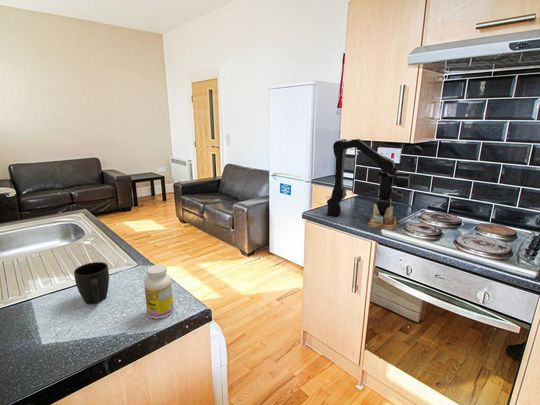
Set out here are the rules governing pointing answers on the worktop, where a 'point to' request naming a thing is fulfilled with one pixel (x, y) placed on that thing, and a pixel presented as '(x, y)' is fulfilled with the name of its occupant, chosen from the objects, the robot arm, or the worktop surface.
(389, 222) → the small walnut offcut
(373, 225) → the rack
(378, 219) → the teal offcut
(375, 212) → the birch board
